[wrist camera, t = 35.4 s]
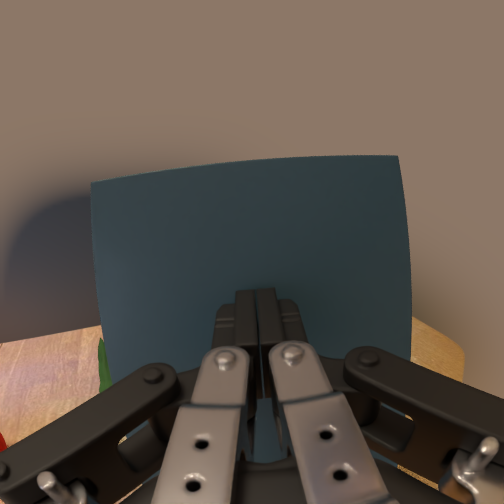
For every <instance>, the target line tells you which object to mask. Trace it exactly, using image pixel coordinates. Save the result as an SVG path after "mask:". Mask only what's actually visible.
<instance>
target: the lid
mask: <svg viewBox="0 0 504 504" xmlns="http://www.w3.org/2000/svg"><path fill="white" fill-rule="evenodd" d="M91 224H92V243H93V258H94V269H95V279H96V290H97V298H98V306H99V313H100V319H101V327H102V333H103V339H104V345H105V350H106V355H107V361H108V366H109V370H110V375H111V380H112V384H115V383H117V382H118V381H120V380H121V379H123V378H125V377H126V376H128V375H129V374H131V373H132V372H134V371H135V370H137V369H139V368H140V367H142V366H144V365H147V364H150V363H157V362H158V363H166V364H169V365H171V366H172V367H173V368H174V369H175V370H176V373H180V372H184V371H188V370H192V369H194V368H197V367H199V366H201V363H202V359H203V357H204V356H205V355H206V354H207V353H208V352H209V351H211V346H212V339H213V332H214V325H215V318H216V312H217V310H218V309H219V308H220V307H221V306H222V305H223V304H234V303H235V293H236V291H238V290H251V289H255V300H256V311H257V322H258V334H259V348H260V361H261V375H262V389H263V399H257V411H256V435H255V451H254V462H257V463H270V462H274V461H277V460H281V454H280V449H279V444H278V440H277V435H276V430H275V425H274V420H273V412H272V400H271V398H265V390H264V379H263V367H262V356H261V344H260V331H259V319H258V306H257V293H256V289H262V288H273V287H275V290H276V295H277V300H280V299H291V300H292V301H293V302H295V303H296V304H297V305H298V309H299V312H300V315H301V319H302V322H303V325H304V329H305V332H306V335H307V339H308V342H309V344H310V345H311V346H313V347H314V349H315V350H316V352H317V354H319V355H321V356H324V357H328V358H337V359H344V358H345V356H346V354H347V353H348V352H349V351H350V350H352V349H354V348H357V347H361V346H373V347H377V348H380V349H383V350H385V351H387V352H389V353H392V354H394V355H396V356H399V357H401V358H403V359H406V360H408V361H410V358H411V332H412V292H411V265H410V249H409V238H408V237H409V236H408V225H407V216H406V207H405V199H404V191H403V184H402V177H401V171H400V165H399V159H398V156H394V155H393V156H392V155H391V156H390V155H347V156H345V155H344V156H310V157H292V158H291V157H290V158H273V159H259V160H247V161H235V162H225V163H215V164H206V165H198V166H189V167H181V168H173V169H166V170H160V171H152V172H146V173H139V174H133V175H127V176H121V177H116V178H110V179H104V180H99V181H94V182H91ZM381 405H382V406H384V407H386V408H388V409H390V410H392V411H394V412H396V413H398V414H400V415H402V416H404V417H405V414H404V413H402V412H400V411H398V410H396V409H394V408H392V407H390V406H388V405H386V404H384V403H382V404H381ZM147 424H149V422H148V420H146V421H145V422H144V423H142V424H141V425H139V426H138V427H137V428H135V429H134V430H132V431H131V432H130V433H128V434H127V435H126V437H127V439H128V438H129V437H131V436H132V435H133V434H135V433H136V432H138V431H139V430H140V429H142V428H143V427H144V426H146V425H147ZM369 450H370V452H371V454H372V457H373V458H376V459H380V460H382V461H384V462H387V463H389V464H391V465H393V466H394V467H396V468H397V465H398V464H397V463H395V462H393V461H391V460H389V459H388V458H386V457H384V456H382V455H380V454H379V453H377V452H375V451H373V450H371V449H370V448H369ZM160 470H161V469H160ZM160 470H158V471H157V472H156V473H155V474H153V475H152V476H151V477H149V478H148V479H147V480H146V481H144V482H143V483H142V485H143V484H145V483H146V482H147V481H149V480H150V479H152V478H154V477H156V476H158V475H159V474H160Z"/></svg>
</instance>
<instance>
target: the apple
mask: <svg viewBox="0 0 504 504" xmlns="http://www.w3.org/2000/svg"><path fill="white" fill-rule="evenodd" d="M5 449H7V446H6V443H5V440H4V438H3V436H2V434H1V433H0V452H1V451H3V450H5Z"/></svg>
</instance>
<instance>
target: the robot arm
mask: <svg viewBox="0 0 504 504" xmlns="http://www.w3.org/2000/svg"><path fill="white" fill-rule="evenodd" d="M256 293H257V306H258V319H259V331H260V344H261V356H262V367H263V379H264V390H265V398H271V400H272V412H273V420H274V425H275V430H276V435H277V440H278V444H279V449H280V454H281V460H277V461H274V462H270V463H257V462H254V451H255V435H256V411H257V399H263V389H262V375H261V361H260V348H259V334H258V322H257V311H256V300H255V289H251V290H238V291H236V293H235V303H234V304H223V305H222V306H221V307H220V308H219V309H218V310H217V312H216V318H215V325H214V332H213V339H212V346H211V351H209V352H208V353H207V354H206V355H205V356H204V357H203V359H202V363H201V366H199V367H197V368H194V369H192V370H188V371H184V372H180V373H176V370H175V369H174V368H173V367H172V366H171V365H169V364H166V363H158V362H157V363H150V364H147V365H144V366H142V367H140V368H139V369H137V370H135V371H134V372H132V373H131V374H129V375H128V376H126V377H125V378H123V379H121V380H120V381H118V382H117V383H115V384H113V385H112V386H110V387H109V388H107V389H105V390H104V391H102V392H101V393H99V394H97V395H96V396H94V397H93V398H91V399H89V400H88V401H86V402H85V403H83V404H81V405H80V406H78V407H76V408H75V409H73V410H71V411H70V412H68V413H67V414H65V415H63V416H62V417H60V418H58V419H57V420H55V421H53V422H52V423H50V424H48V425H46V426H45V427H43V428H41V429H40V430H38V431H36V432H35V433H33V434H31V435H29V436H28V437H26V438H24V439H23V440H21V441H19V442H17V443H16V444H14V445H12V446H10V447H9V448H7V449H5V450H3V451H1V452H0V499H1V500H2V501H3V502H4V503H5V504H114V503H116V502H117V501H118V500H120V499H121V498H123V497H124V496H125V495H127V494H128V493H129V492H131V491H132V490H134V489H135V488H136V487H138V486H139V485H140V484H142V483H143V482H144V481H146V480H147V479H148V478H149V477H151V476H152V475H153V474H155V473H156V472H157V471H158V470H160V469H161V470H160V474H159V475H158V476H156V477H154V478H152V479H150V480H149V481H147V482H146V483H145V484H143V485H142V486H141V487H140V488H138V489H137V490H136V491H135V492H133V493H132V494H131V495H129V496H128V497H127V498H126V499H124V500H123V501H122V502H120V503H119V504H504V399H502V398H499V397H497V396H494V395H492V394H489V393H486V392H484V391H481V390H478V389H476V388H474V387H471V386H469V385H466V384H464V383H461V382H459V381H456V380H454V379H451V378H449V377H446V376H444V375H442V374H439V373H437V372H434V371H432V370H429V369H427V368H425V367H422V366H420V365H418V364H415V363H413V362H410V361H408V360H406V359H403V358H401V357H399V356H396V355H394V354H392V353H389V352H387V351H385V350H383V349H380V348H377V347H373V346H361V347H357V348H354V349H352V350H350V351H349V352H348V353H347V354H346V356H345V358H344V359H337V358H328V357H324V356H321V355H319V354H317V352H316V350H315V349H314V347H313V346H311V345H310V344H309V342H308V339H307V335H306V332H305V329H304V325H303V322H302V319H301V315H300V312H299V309H298V305H297V304H296V303H295V302H293V301H292V300H291V299H280V300H277V295H276V290H275V287H273V288H262V289H256ZM382 403H384V404H386V405H388V406H390V407H392V408H394V409H396V410H398V411H400V412H402V413H404V414H406V415H408V416H410V417H411V418H412V419H413V421H412V420H410V419H408V418H406V417H404V416H402V415H400V414H398V413H396V412H394V411H392V410H390V409H388V408H386V407H384V406H382V405H381V404H382ZM146 420H148V422H149V424H147V425H146V426H144V427H143V428H142V429H140V430H139V431H138V432H136V433H135V434H133V435H132V436H131V437H129V438H128V439H126V440H125V441H123V442H122V443H121V444H119V445H118V443H119V441H120V440H121V439H122V438H123V437H124V436H125V435H127V434H128V433H130V432H131V431H132V430H134V429H135V428H137V427H138V426H139V425H141V424H142V423H144V422H145V421H146ZM369 448H370V449H371V450H373V451H375V452H377V453H379V454H380V455H382V456H384V457H386V458H388V459H389V460H391V461H393V462H395V463H397V464H399V465H401V466H402V467H404V468H406V469H408V470H410V471H412V472H414V473H416V474H418V475H420V476H422V477H424V478H426V479H428V480H430V481H432V482H434V483H436V484H438V489H439V491H438V490H436V489H434V488H432V487H430V486H428V485H426V484H425V483H423V482H421V481H419V480H417V479H415V478H414V477H412V476H410V475H408V474H407V473H405V472H403V471H401V470H400V469H398V468H396V467H394V466H393V465H391V464H389V463H387V462H384V461H382V460H380V459H376V458H373V457H372V454H371V452H370V450H369Z"/></svg>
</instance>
